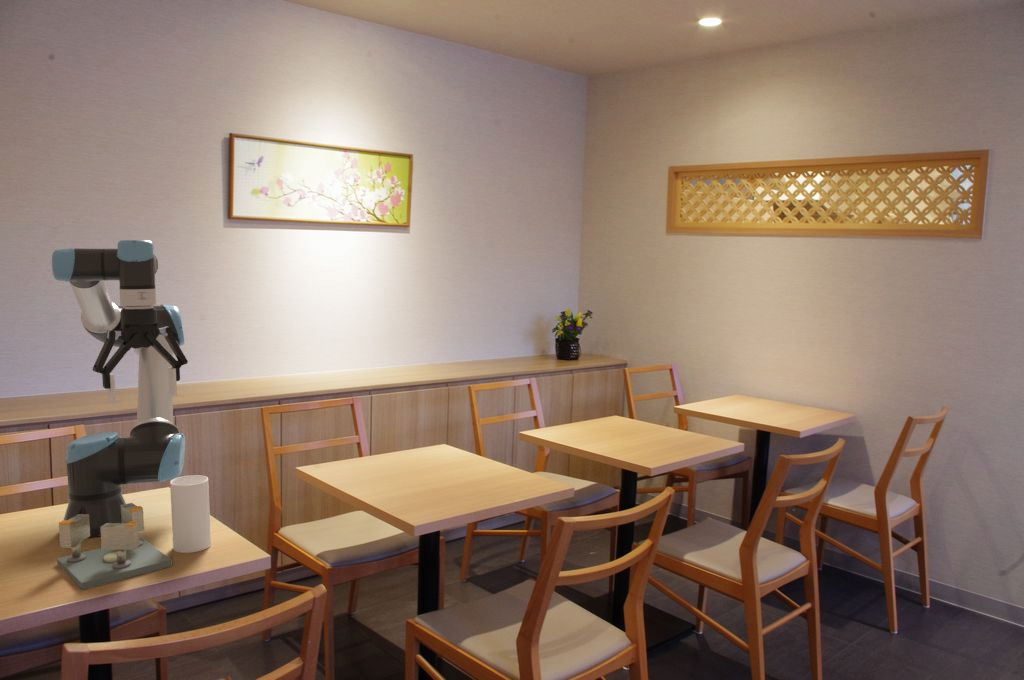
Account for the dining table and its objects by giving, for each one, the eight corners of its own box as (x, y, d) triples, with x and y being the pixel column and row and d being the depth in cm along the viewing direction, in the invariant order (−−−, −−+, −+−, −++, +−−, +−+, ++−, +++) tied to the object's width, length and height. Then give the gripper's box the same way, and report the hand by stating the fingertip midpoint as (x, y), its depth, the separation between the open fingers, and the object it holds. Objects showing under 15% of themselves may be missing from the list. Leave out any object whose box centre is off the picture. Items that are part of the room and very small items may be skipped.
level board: (57, 564, 175) (56, 554, 175) (142, 544, 188) (141, 534, 187) (82, 590, 162) (81, 579, 162) (171, 566, 175) (171, 555, 175)
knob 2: (122, 539, 184) (120, 502, 183) (133, 536, 186) (131, 500, 185) (133, 547, 180) (131, 510, 179) (144, 544, 181) (142, 507, 180)
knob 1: (102, 564, 170) (100, 524, 169) (108, 559, 172) (105, 520, 171) (135, 564, 170) (133, 524, 169) (140, 559, 172) (138, 520, 171)
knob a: (80, 549, 178) (78, 512, 177) (91, 549, 178) (88, 512, 177) (61, 561, 171) (58, 522, 170) (71, 562, 171) (69, 523, 170)
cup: (188, 555, 181) (184, 487, 179) (165, 548, 185) (162, 481, 183) (218, 544, 188) (215, 478, 186) (196, 537, 192) (193, 473, 190)
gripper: (83, 311, 171) (89, 408, 173) (199, 305, 188) (203, 394, 190) (74, 309, 176) (79, 403, 179) (187, 304, 193) (190, 390, 196)
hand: (143, 398), depth 185 cm, fingers open, 13 cm apart
